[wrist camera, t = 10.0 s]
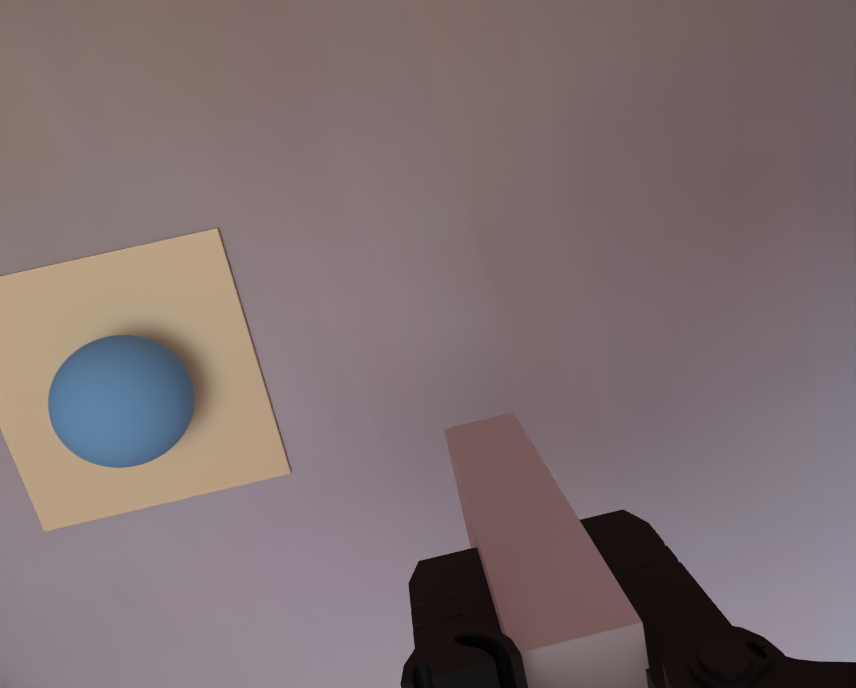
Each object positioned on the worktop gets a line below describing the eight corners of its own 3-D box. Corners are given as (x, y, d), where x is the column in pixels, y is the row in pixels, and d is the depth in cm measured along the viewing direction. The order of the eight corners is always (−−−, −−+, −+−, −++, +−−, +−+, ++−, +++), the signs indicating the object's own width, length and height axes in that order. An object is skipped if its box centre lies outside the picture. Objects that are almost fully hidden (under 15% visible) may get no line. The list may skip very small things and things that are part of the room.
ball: (154, 314, 29) (187, 322, 25) (191, 422, 31) (228, 447, 26) (21, 353, 26) (31, 370, 22) (68, 470, 28) (87, 508, 23)
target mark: (218, 227, 28) (217, 228, 27) (291, 471, 31) (290, 473, 30) (-57, 288, 27) (-59, 289, 27) (46, 529, 30) (44, 531, 30)
